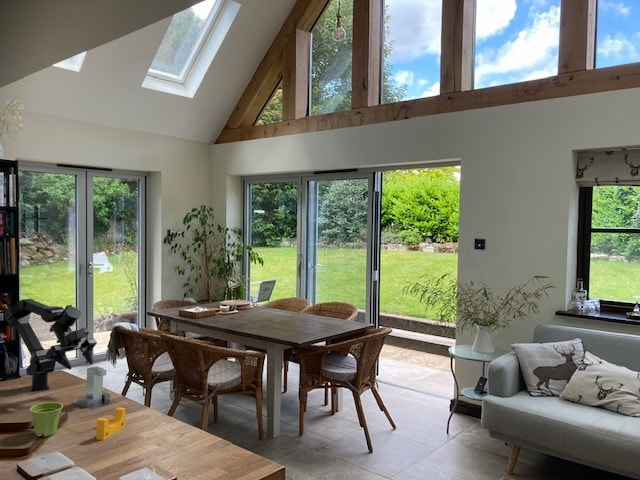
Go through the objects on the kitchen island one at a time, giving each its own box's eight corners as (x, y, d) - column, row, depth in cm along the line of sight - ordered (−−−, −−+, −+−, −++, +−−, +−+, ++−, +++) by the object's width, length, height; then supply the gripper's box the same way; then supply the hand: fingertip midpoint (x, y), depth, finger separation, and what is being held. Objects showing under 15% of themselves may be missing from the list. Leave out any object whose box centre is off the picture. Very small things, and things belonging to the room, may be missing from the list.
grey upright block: (85, 402, 190) (87, 368, 189) (94, 399, 193) (96, 366, 193) (98, 406, 186) (99, 371, 186) (107, 403, 190) (108, 369, 190)
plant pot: (51, 440, 158) (53, 413, 158) (22, 438, 158) (23, 411, 158) (67, 428, 168) (68, 403, 168) (39, 427, 168) (40, 401, 168)
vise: (71, 405, 189) (71, 396, 189) (94, 398, 198) (94, 389, 198) (92, 412, 183) (93, 402, 183) (115, 404, 192) (115, 395, 192)
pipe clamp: (113, 425, 173) (114, 406, 173) (124, 426, 172) (125, 408, 172) (91, 439, 161) (92, 419, 161) (103, 440, 160) (104, 420, 160)
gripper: (51, 324, 188) (69, 358, 183) (95, 318, 204) (112, 349, 199) (37, 342, 192) (55, 376, 187) (81, 335, 208) (98, 366, 203)
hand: (81, 366), depth 194 cm, fingers open, 9 cm apart
